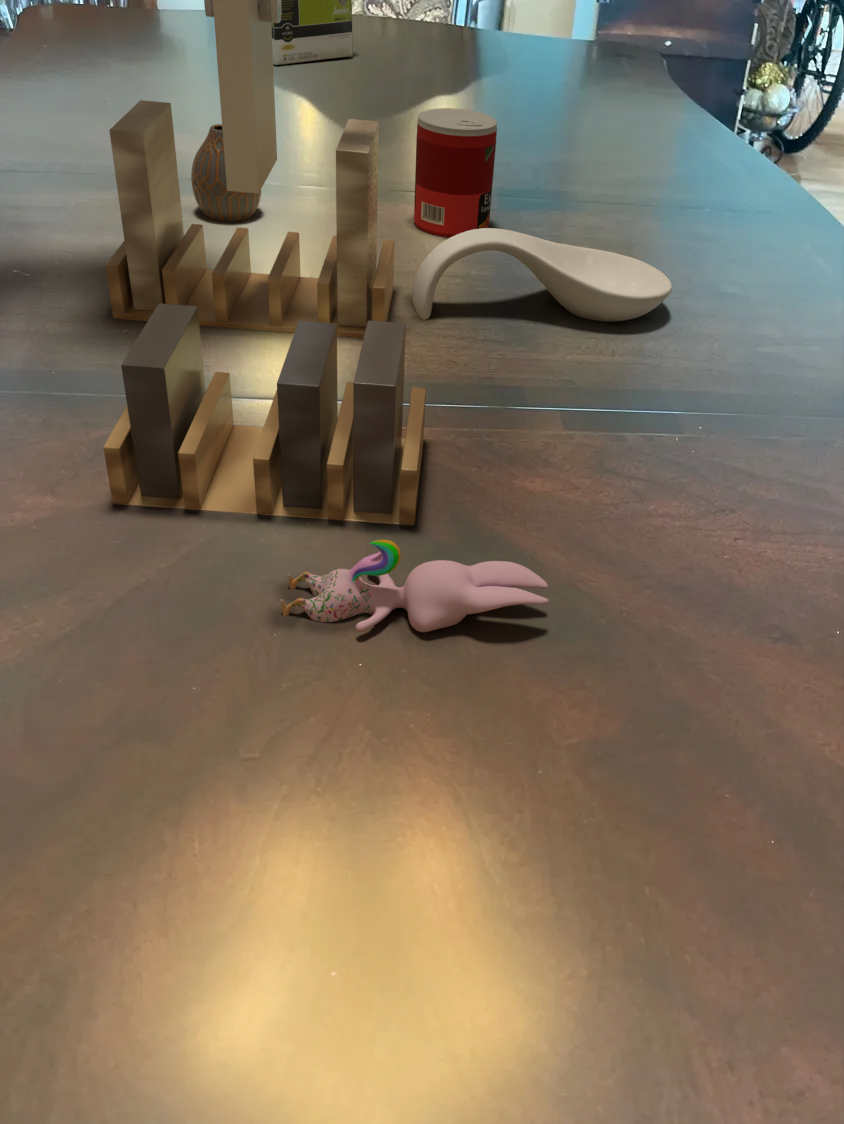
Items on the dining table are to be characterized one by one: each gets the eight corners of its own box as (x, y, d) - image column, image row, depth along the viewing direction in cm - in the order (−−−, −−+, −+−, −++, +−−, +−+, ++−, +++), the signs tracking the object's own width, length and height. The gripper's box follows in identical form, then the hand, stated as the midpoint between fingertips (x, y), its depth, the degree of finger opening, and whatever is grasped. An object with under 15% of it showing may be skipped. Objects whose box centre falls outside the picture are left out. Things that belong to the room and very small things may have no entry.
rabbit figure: (284, 665, 59) (551, 651, 58) (261, 580, 55) (546, 564, 54) (301, 597, 64) (547, 584, 63) (281, 515, 60) (543, 499, 59)
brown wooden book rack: (114, 516, 67) (89, 370, 60) (157, 431, 75) (139, 295, 69) (413, 537, 67) (420, 395, 61) (422, 451, 76) (429, 318, 69)
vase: (274, 224, 108) (270, 133, 103) (211, 233, 105) (203, 140, 100) (245, 203, 113) (240, 115, 107) (184, 211, 109) (175, 120, 104)
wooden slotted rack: (114, 324, 88) (84, 131, 78) (147, 274, 96) (124, 95, 86) (383, 345, 89) (387, 157, 79) (393, 294, 97) (397, 119, 87)
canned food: (494, 244, 109) (504, 130, 102) (417, 242, 108) (422, 127, 101) (482, 218, 115) (490, 109, 108) (409, 216, 114) (413, 106, 107)
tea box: (317, 45, 174) (314, -62, 164) (354, 58, 168) (354, -51, 159) (238, 52, 165) (231, -59, 156) (275, 67, 160) (270, -48, 151)
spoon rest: (639, 285, 104) (652, 211, 99) (684, 336, 95) (701, 257, 90) (402, 290, 98) (405, 211, 93) (428, 344, 89) (432, 260, 85)
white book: (226, 191, 82) (211, -19, 73) (247, 157, 89) (235, -39, 80) (259, 193, 82) (247, -16, 73) (277, 159, 89) (268, -35, 80)
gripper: (391, -207, 72) (386, 23, 81) (89, -237, 71) (118, -2, 80) (383, -205, 67) (380, 40, 76) (59, -237, 66) (94, 14, 75)
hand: (243, 18), depth 78 cm, fingers closed on white book, 2 cm apart
